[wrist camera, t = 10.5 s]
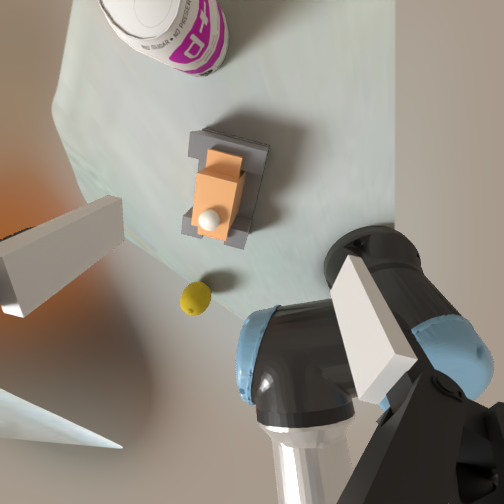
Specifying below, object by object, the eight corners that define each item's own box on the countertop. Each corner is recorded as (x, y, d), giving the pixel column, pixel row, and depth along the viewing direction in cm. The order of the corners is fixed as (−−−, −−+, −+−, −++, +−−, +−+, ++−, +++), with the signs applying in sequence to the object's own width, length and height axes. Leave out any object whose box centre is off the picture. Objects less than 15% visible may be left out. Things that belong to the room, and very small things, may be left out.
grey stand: (269, 145, 36) (267, 150, 30) (248, 234, 43) (243, 250, 38) (203, 128, 36) (190, 130, 30) (193, 220, 43) (181, 234, 38)
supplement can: (243, 37, 30) (212, -26, 17) (201, 92, 33) (149, 76, 20) (193, -28, 28) (115, -156, 15) (154, 39, 31) (62, -18, 18)
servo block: (250, 152, 36) (239, 163, 27) (235, 225, 42) (222, 254, 33) (217, 143, 36) (195, 152, 27) (207, 217, 42) (186, 244, 33)
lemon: (187, 292, 51) (172, 319, 44) (190, 271, 48) (175, 296, 42) (213, 298, 51) (202, 327, 44) (217, 278, 49) (206, 305, 42)
